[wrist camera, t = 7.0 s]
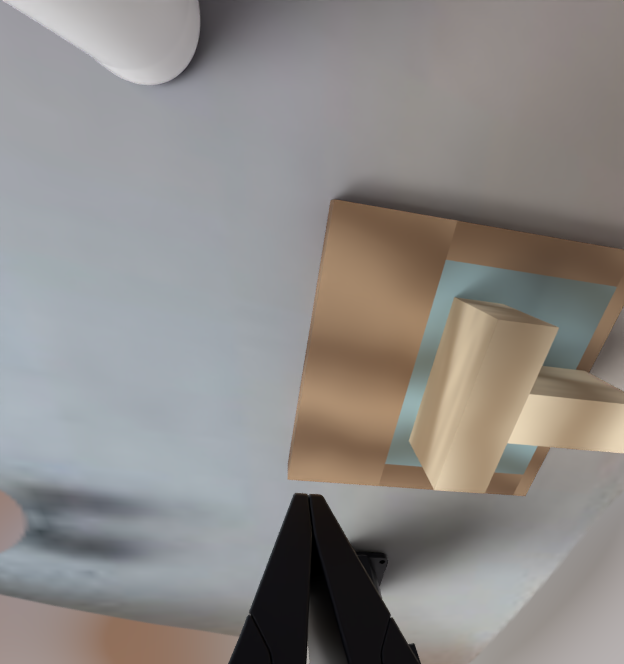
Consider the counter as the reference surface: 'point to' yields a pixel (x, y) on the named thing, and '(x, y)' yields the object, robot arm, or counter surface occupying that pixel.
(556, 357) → the push board
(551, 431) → the t block
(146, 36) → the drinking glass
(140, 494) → the counter surface
